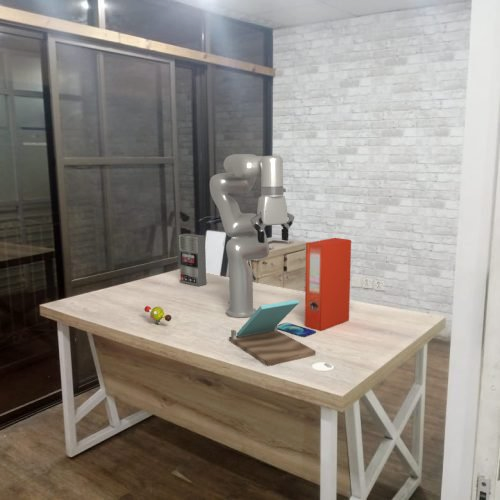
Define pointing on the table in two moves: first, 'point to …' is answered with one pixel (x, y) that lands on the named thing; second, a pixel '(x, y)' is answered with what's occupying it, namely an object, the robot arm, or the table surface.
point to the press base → (271, 347)
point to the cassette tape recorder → (192, 259)
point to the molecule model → (157, 314)
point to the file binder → (327, 283)
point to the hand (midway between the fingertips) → (273, 241)
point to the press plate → (267, 318)
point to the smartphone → (295, 329)
